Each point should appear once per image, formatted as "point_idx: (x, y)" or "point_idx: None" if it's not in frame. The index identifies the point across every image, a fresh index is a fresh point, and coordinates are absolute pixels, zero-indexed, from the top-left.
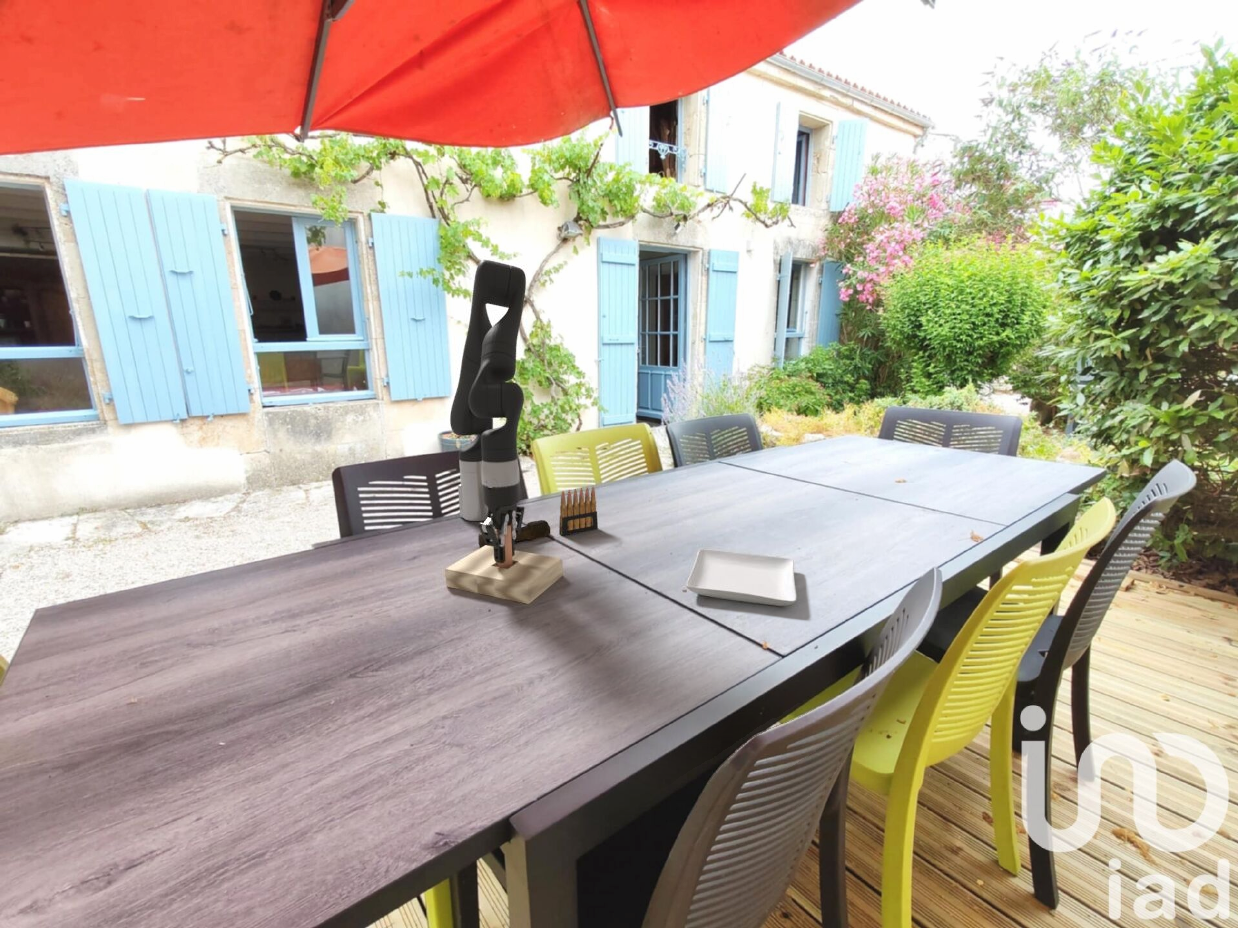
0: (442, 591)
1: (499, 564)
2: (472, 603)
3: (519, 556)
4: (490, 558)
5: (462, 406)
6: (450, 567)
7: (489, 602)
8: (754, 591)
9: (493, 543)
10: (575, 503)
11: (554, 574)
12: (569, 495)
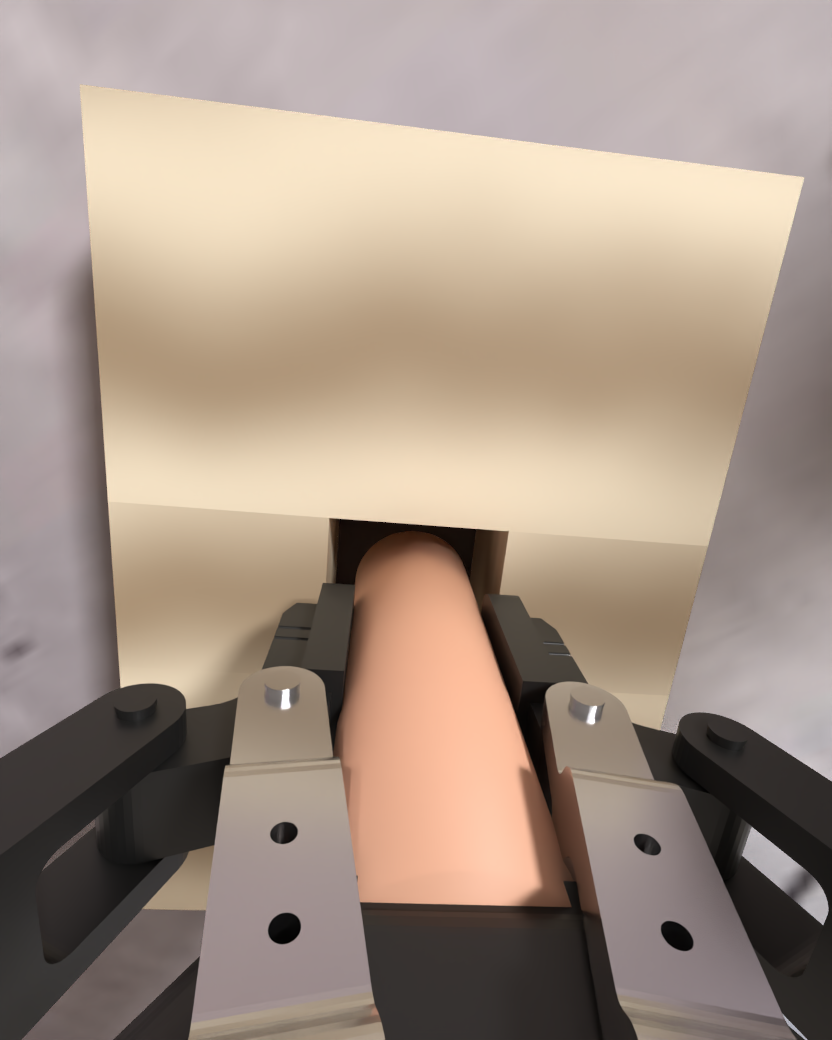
0: (77, 176)
1: (358, 589)
2: (35, 509)
3: (580, 646)
4: (479, 427)
5: None
6: (135, 130)
7: (99, 600)
8: None
9: (66, 857)
10: None
11: None
12: None
